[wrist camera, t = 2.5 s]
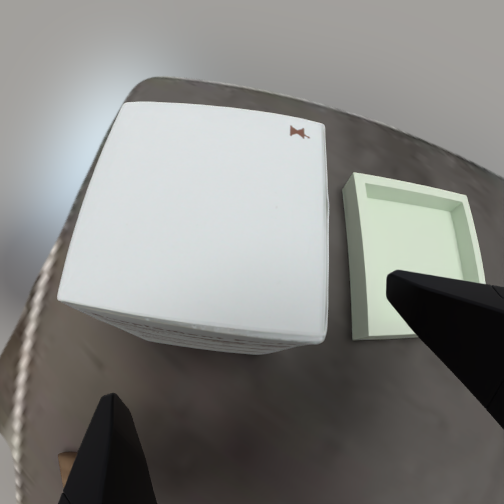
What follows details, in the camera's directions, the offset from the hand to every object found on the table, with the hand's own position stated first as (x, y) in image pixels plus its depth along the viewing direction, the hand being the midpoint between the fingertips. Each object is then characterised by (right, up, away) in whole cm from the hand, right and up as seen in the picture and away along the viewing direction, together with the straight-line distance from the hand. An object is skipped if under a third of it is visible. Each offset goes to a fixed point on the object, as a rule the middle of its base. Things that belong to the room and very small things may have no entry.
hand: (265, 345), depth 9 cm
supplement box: (-3, 0, +12) cm, 12 cm away
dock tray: (+12, +2, +14) cm, 19 cm away
